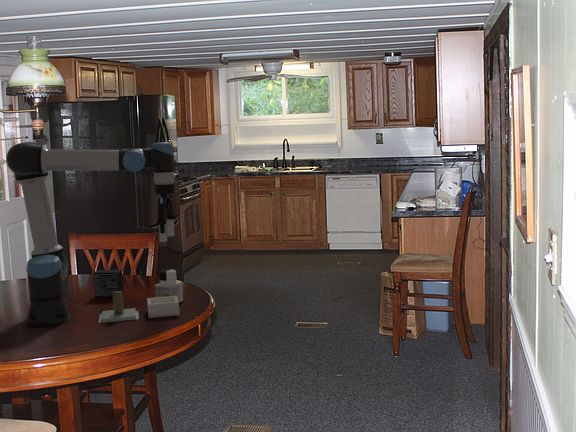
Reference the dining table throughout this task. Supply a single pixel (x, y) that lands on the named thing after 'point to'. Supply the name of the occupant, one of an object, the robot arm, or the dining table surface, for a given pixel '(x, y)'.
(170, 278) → the container
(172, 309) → the dish
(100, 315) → the mat
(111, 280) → the small box
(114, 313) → the lid
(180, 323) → the dining table surface
